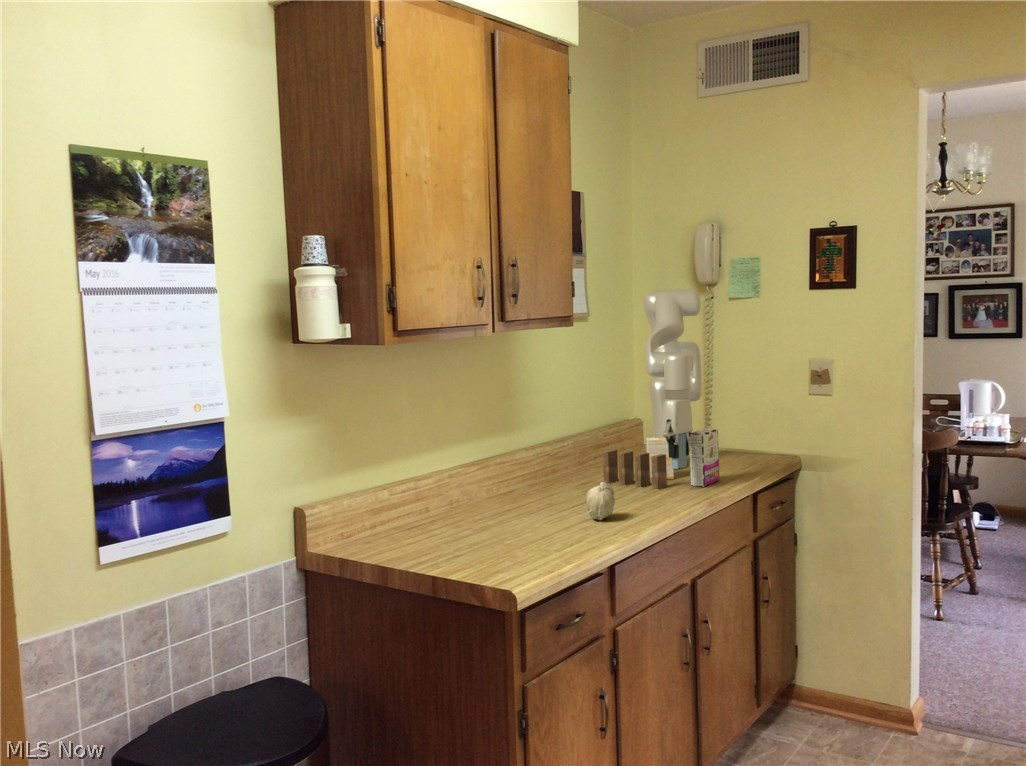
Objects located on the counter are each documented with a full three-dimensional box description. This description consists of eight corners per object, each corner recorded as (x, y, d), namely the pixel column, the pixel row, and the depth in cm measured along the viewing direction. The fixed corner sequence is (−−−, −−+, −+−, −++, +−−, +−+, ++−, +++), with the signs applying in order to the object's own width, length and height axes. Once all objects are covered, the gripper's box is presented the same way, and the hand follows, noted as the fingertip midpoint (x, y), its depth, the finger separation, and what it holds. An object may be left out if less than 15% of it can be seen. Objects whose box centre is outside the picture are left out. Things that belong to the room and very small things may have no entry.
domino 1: (603, 483, 281) (602, 451, 280) (613, 480, 285) (612, 449, 284) (608, 483, 280) (608, 452, 279) (618, 481, 283) (617, 449, 283)
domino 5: (671, 468, 264) (670, 434, 263) (680, 465, 267) (679, 432, 266) (677, 468, 262) (676, 435, 261) (686, 466, 266) (685, 433, 265)
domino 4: (652, 489, 269) (651, 456, 268) (661, 486, 273) (660, 453, 272) (657, 489, 268) (657, 456, 267) (666, 487, 271) (666, 454, 271)
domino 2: (619, 485, 277) (618, 453, 276) (628, 482, 281) (627, 450, 280) (624, 485, 276) (623, 453, 275) (633, 482, 279) (633, 451, 279)
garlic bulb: (609, 514, 239) (608, 477, 238) (625, 520, 231) (624, 482, 230) (578, 518, 235) (576, 481, 235) (592, 525, 227) (591, 486, 227)
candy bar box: (705, 479, 280) (704, 427, 279) (720, 481, 277) (719, 428, 276) (689, 486, 272) (688, 432, 270) (704, 487, 269) (703, 433, 267)
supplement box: (672, 476, 287) (671, 436, 286) (674, 479, 282) (673, 438, 281) (646, 477, 288) (645, 437, 287) (647, 480, 283) (646, 439, 282)
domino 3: (635, 487, 273) (634, 454, 272) (644, 484, 277) (643, 452, 276) (641, 487, 272) (640, 455, 271) (650, 484, 275) (649, 452, 275)
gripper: (681, 392, 272) (682, 451, 273) (650, 397, 259) (652, 459, 261) (703, 393, 267) (704, 453, 268) (673, 398, 254) (674, 461, 256)
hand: (678, 455), depth 264 cm, fingers closed on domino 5, 4 cm apart
